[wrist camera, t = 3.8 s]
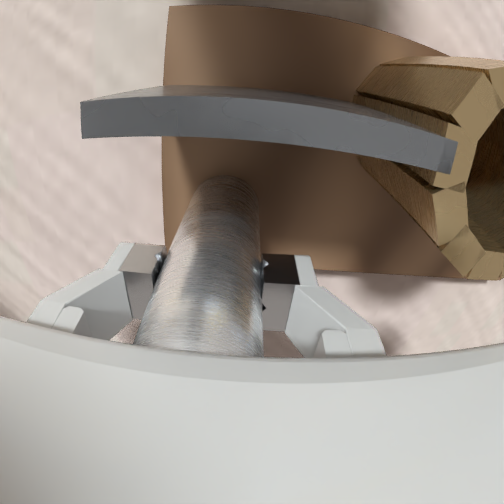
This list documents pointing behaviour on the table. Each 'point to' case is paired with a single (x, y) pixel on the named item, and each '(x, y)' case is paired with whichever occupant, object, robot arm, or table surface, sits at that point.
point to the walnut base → (287, 155)
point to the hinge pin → (210, 277)
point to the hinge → (365, 139)
